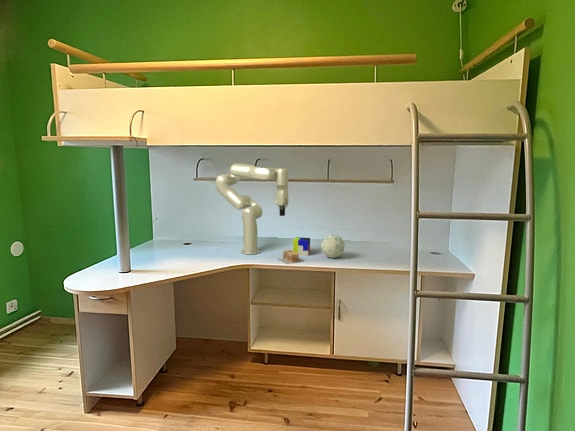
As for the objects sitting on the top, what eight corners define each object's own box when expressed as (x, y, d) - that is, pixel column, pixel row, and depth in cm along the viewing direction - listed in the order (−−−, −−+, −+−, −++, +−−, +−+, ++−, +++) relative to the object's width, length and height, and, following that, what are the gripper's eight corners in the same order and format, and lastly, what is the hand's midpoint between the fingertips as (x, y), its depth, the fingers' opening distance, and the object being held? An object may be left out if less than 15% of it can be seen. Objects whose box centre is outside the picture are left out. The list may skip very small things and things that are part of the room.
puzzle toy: (307, 255, 262) (308, 241, 261) (293, 254, 264) (293, 240, 262) (309, 252, 272) (310, 237, 270) (295, 251, 274) (295, 237, 272)
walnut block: (283, 250, 253) (291, 254, 244) (290, 249, 256) (298, 253, 246) (283, 258, 254) (291, 262, 245) (289, 257, 256) (298, 261, 247)
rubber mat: (278, 259, 252) (278, 259, 252) (295, 257, 258) (295, 256, 258) (286, 263, 242) (286, 263, 242) (303, 261, 248) (303, 261, 248)
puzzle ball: (338, 253, 268) (339, 232, 265) (348, 259, 253) (348, 236, 251) (317, 255, 263) (318, 233, 261) (326, 261, 249) (326, 238, 247)
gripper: (272, 186, 258) (272, 214, 261) (282, 188, 245) (282, 217, 248) (282, 186, 262) (282, 213, 265) (293, 188, 249) (292, 216, 252)
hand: (282, 215), depth 257 cm, fingers closed
